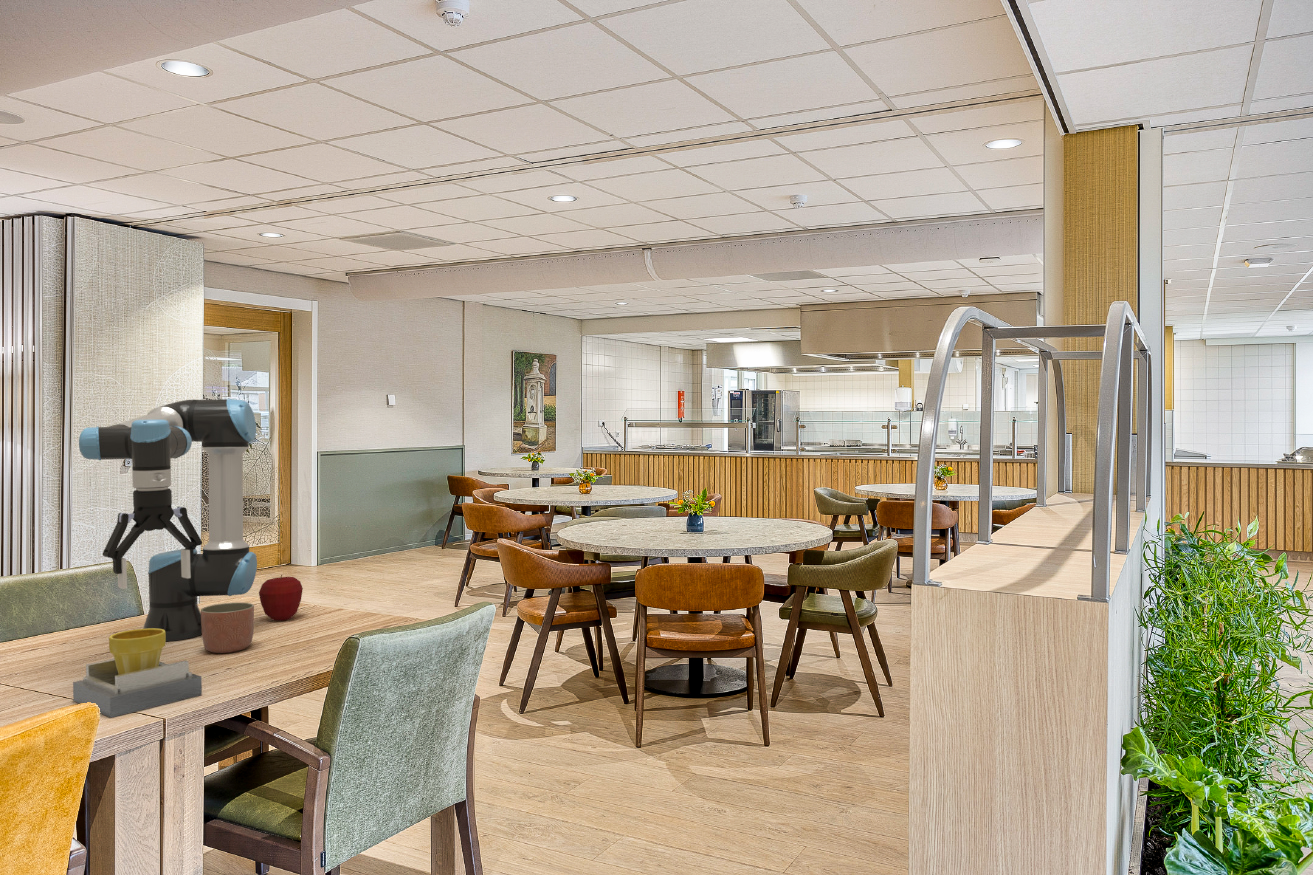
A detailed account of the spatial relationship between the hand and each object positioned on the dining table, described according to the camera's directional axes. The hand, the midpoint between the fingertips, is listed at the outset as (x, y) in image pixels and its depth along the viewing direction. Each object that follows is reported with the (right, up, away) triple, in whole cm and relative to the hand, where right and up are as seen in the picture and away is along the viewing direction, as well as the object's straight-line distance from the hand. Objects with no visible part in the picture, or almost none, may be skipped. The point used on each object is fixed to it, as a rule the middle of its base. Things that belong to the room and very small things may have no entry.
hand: (155, 582), depth 201 cm
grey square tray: (+2, -23, -11) cm, 25 cm away
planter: (+2, -22, +29) cm, 37 cm away
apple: (+2, -21, +63) cm, 67 cm away
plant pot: (+2, -19, -11) cm, 22 cm away
